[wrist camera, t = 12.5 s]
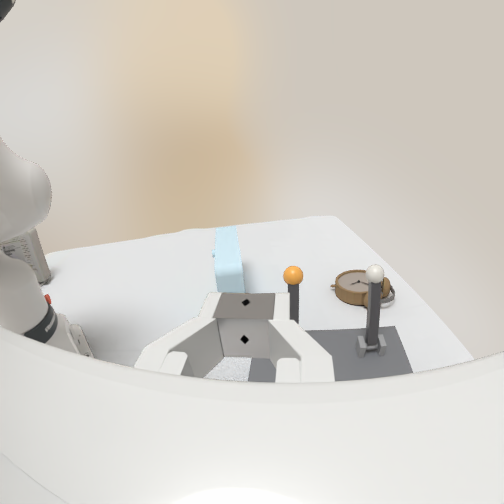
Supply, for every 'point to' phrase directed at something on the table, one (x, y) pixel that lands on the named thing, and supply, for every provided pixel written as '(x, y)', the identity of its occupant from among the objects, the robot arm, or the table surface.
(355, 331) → the switch box
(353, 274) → the alarm clock
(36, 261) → the network device
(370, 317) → the grey lever
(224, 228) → the light blue rounded box
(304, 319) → the table surface
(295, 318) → the orange lever
